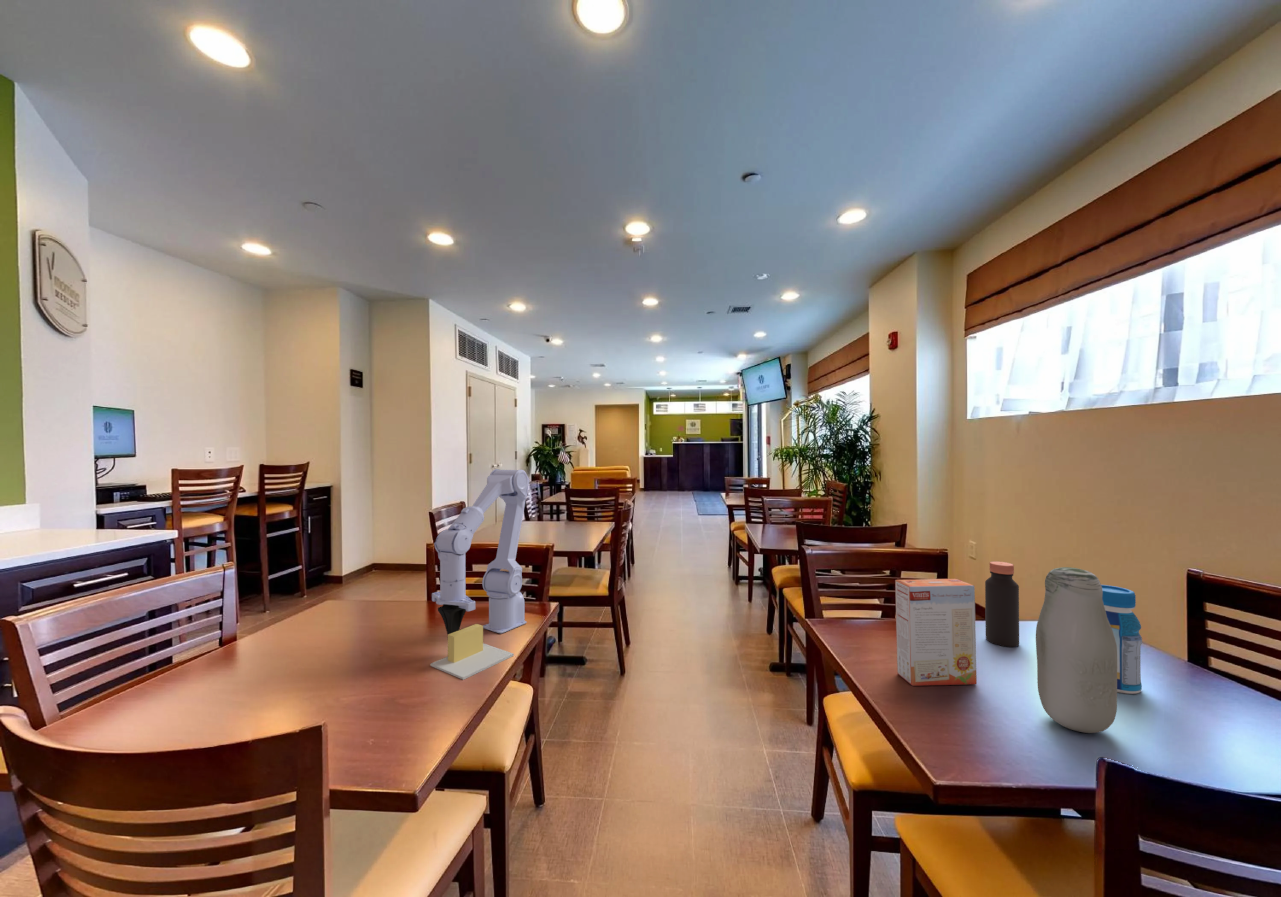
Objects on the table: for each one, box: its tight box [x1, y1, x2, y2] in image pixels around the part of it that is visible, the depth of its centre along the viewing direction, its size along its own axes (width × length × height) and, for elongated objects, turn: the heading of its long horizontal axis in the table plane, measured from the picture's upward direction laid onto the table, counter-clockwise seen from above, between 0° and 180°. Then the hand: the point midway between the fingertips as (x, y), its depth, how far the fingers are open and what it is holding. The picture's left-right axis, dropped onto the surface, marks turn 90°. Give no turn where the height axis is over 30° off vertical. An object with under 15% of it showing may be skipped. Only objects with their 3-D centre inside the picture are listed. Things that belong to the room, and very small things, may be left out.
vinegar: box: [984, 561, 1020, 648], centre depth 119 cm, size 7×7×20 cm
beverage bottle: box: [1101, 584, 1143, 695], centre depth 97 cm, size 8×8×20 cm
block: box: [447, 623, 484, 663], centre depth 111 cm, size 8×2×6 cm, turn 147°
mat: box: [430, 642, 515, 681], centre depth 109 cm, size 14×12×1 cm
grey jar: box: [1035, 566, 1118, 734], centre depth 82 cm, size 10×10×28 cm
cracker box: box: [894, 578, 978, 687], centre depth 99 cm, size 14×6×21 cm, turn 91°
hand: (453, 635), depth 113 cm, fingers closed
